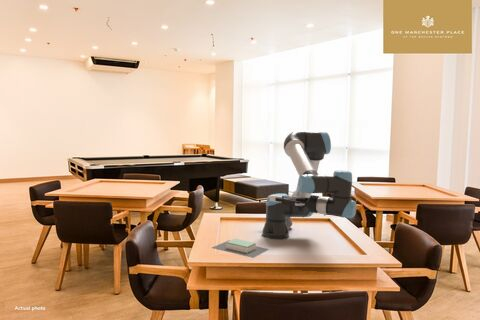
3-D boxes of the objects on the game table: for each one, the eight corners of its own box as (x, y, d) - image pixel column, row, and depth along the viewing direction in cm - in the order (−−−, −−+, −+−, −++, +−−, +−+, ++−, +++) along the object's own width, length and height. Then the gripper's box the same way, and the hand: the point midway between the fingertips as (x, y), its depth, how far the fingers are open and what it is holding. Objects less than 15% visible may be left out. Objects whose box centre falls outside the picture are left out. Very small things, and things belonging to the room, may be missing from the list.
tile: (255, 242, 183) (235, 238, 190) (247, 246, 177) (226, 242, 183) (255, 248, 184) (235, 244, 190) (247, 253, 177) (226, 248, 183)
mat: (269, 249, 184) (269, 249, 184) (253, 258, 170) (253, 257, 170) (229, 241, 197) (229, 240, 197) (211, 248, 183) (211, 247, 183)
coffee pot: (291, 225, 234) (292, 202, 233) (293, 230, 223) (294, 205, 221) (257, 224, 235) (258, 200, 234) (257, 228, 224) (258, 204, 223)
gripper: (313, 216, 156) (263, 208, 168) (323, 210, 167) (276, 203, 179) (314, 198, 155) (264, 191, 168) (324, 194, 166) (276, 188, 179)
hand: (270, 197), depth 173 cm, fingers closed
